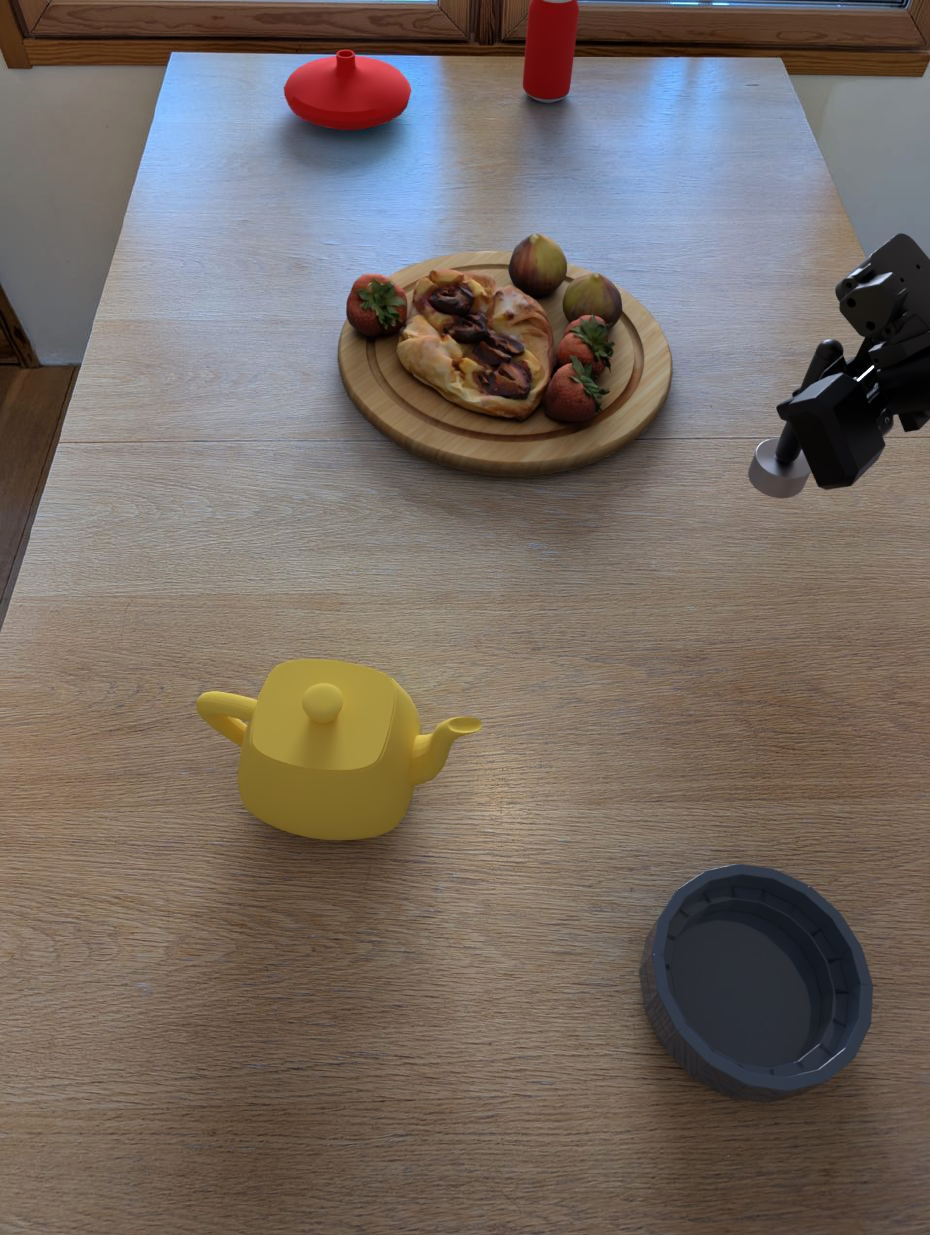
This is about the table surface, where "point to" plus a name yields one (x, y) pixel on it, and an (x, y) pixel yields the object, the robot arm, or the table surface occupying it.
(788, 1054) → the bowl
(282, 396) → the table surface
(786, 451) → the coffee tamper
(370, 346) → the wooden plate
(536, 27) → the beverage can
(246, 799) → the teapot
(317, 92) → the red vase
